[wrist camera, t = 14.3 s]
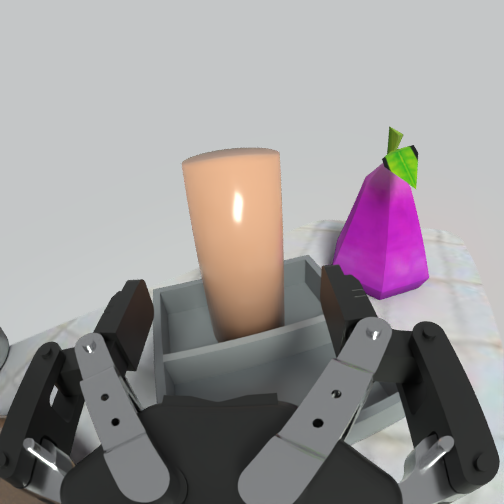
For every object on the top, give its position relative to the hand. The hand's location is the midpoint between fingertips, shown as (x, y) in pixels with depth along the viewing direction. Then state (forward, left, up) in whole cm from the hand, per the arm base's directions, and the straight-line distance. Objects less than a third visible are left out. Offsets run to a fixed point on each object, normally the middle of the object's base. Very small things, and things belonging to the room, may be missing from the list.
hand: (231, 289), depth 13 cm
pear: (+17, +9, -10) cm, 21 cm away
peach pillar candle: (+2, +6, -8) cm, 11 cm away
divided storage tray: (+2, +2, -9) cm, 10 cm away
